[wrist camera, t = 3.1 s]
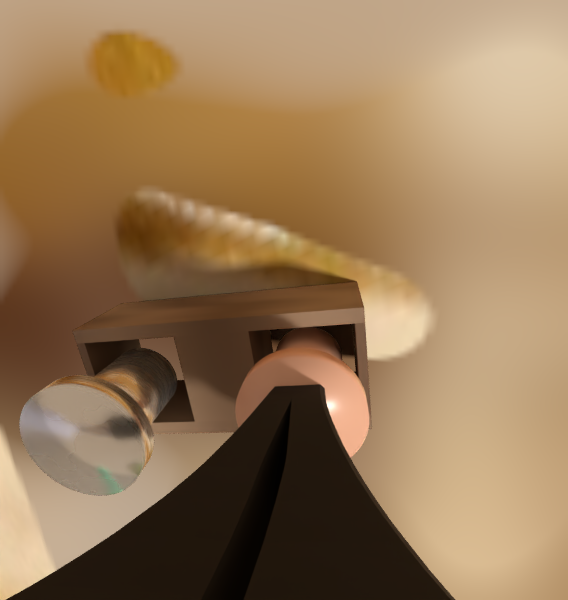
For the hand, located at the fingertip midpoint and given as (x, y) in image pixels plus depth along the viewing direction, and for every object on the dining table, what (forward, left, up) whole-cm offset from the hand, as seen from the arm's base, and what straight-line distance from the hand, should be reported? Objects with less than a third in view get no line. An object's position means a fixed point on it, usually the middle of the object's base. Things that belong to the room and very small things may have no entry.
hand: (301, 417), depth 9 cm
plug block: (-3, 0, -5) cm, 6 cm away
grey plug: (-6, 0, -3) cm, 7 cm away
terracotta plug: (0, 0, -3) cm, 3 cm away
